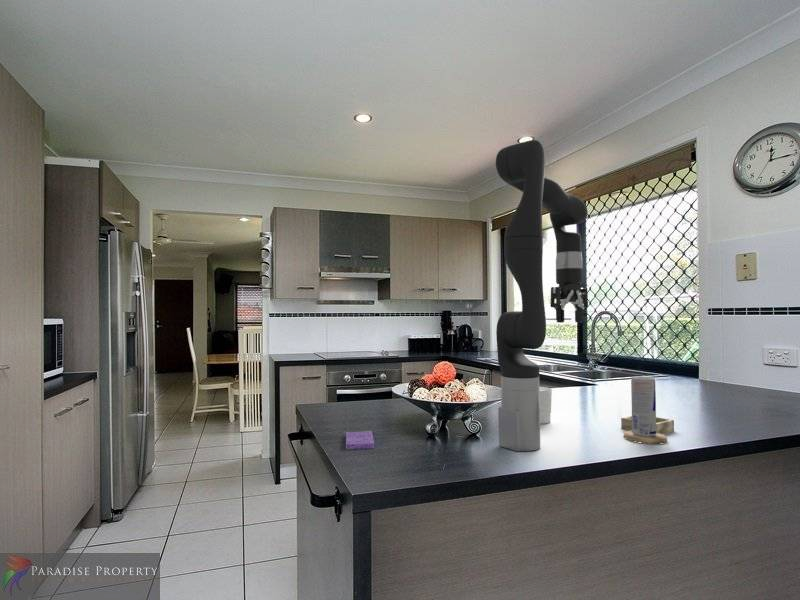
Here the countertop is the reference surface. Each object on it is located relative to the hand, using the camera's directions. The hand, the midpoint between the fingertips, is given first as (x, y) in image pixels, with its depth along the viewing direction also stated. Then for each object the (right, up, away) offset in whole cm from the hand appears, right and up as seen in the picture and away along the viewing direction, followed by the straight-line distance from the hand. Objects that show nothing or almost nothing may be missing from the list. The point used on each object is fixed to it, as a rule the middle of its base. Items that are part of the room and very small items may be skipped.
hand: (569, 322), depth 139 cm
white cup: (-8, -31, +3) cm, 32 cm away
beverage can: (+13, -29, -17) cm, 36 cm away
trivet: (+13, -30, -18) cm, 37 cm away
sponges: (-61, -31, -19) cm, 71 cm away
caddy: (+19, -30, -8) cm, 36 cm away
